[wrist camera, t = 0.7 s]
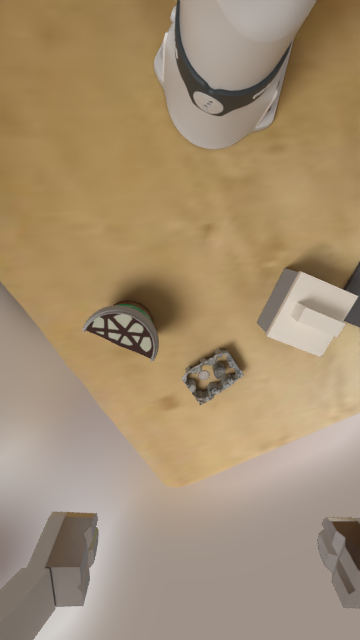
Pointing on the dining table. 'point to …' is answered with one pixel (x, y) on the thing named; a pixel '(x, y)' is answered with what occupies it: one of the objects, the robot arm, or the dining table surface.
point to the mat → (356, 286)
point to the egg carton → (218, 372)
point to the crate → (276, 298)
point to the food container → (126, 327)
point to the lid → (311, 314)
